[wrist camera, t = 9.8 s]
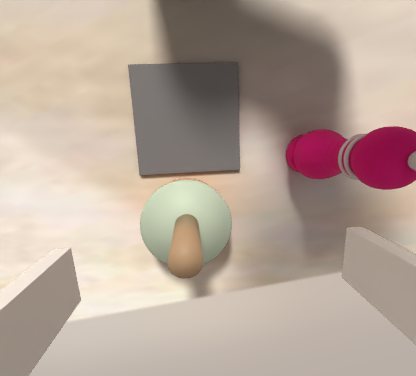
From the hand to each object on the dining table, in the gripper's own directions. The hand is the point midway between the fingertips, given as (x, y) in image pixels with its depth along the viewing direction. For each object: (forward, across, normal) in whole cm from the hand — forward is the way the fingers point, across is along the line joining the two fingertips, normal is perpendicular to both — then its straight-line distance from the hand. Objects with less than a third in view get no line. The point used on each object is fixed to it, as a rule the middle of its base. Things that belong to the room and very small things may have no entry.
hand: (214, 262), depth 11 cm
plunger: (+21, -2, -6) cm, 22 cm away
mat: (+26, -1, +9) cm, 28 cm away
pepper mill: (+27, +18, +3) cm, 32 cm away
